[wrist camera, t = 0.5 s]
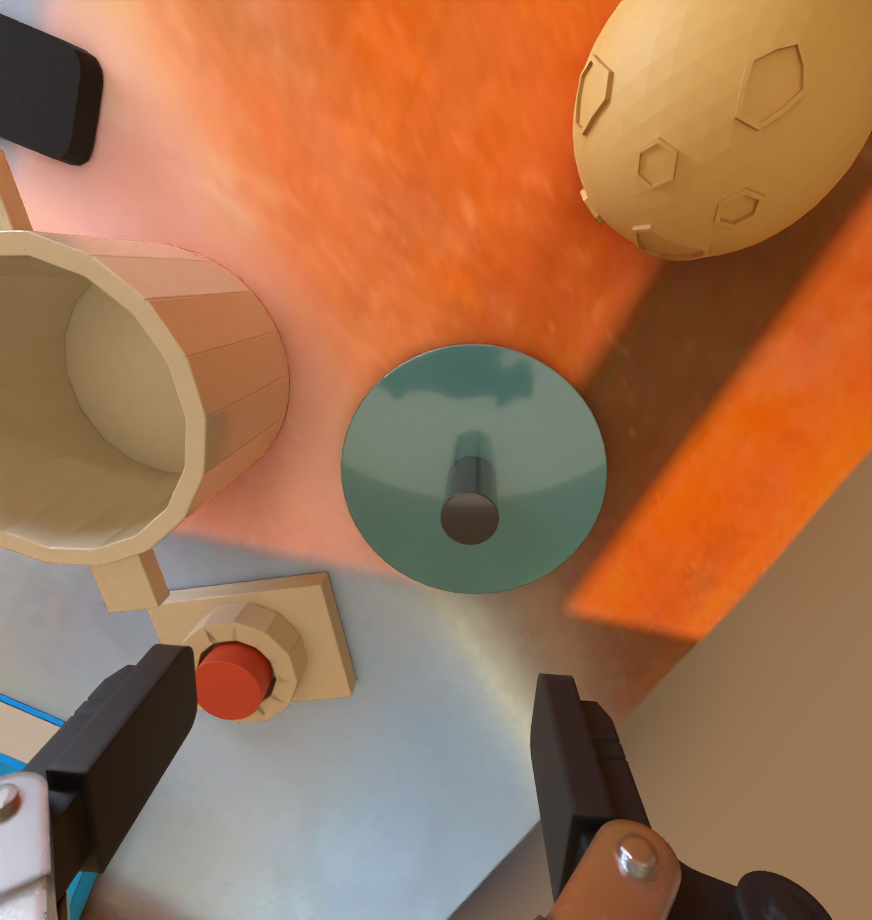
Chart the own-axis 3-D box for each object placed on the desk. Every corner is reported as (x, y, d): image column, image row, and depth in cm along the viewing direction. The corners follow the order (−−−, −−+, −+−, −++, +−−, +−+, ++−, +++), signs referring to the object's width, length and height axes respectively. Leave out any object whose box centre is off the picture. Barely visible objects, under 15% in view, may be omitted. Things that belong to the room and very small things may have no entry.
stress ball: (742, -46, 22) (938, -286, 13) (816, 190, 24) (1027, 138, 15) (517, 96, 24) (541, -18, 15) (606, 300, 27) (674, 314, 17)
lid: (590, 319, 27) (620, 332, 21) (612, 568, 31) (642, 636, 25) (319, 366, 29) (277, 389, 23) (375, 595, 33) (352, 664, 27)
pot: (236, 160, 26) (106, 101, 17) (326, 510, 31) (264, 604, 23) (-2, 214, 28) (-234, 186, 19) (124, 537, 33) (-8, 635, 24)
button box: (327, 571, 33) (310, 604, 29) (357, 680, 35) (344, 722, 32) (159, 591, 34) (124, 625, 31) (198, 695, 37) (170, 736, 33)
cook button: (262, 637, 31) (249, 658, 29) (280, 694, 32) (269, 717, 30) (196, 644, 31) (180, 665, 30) (217, 700, 33) (203, 723, 31)
